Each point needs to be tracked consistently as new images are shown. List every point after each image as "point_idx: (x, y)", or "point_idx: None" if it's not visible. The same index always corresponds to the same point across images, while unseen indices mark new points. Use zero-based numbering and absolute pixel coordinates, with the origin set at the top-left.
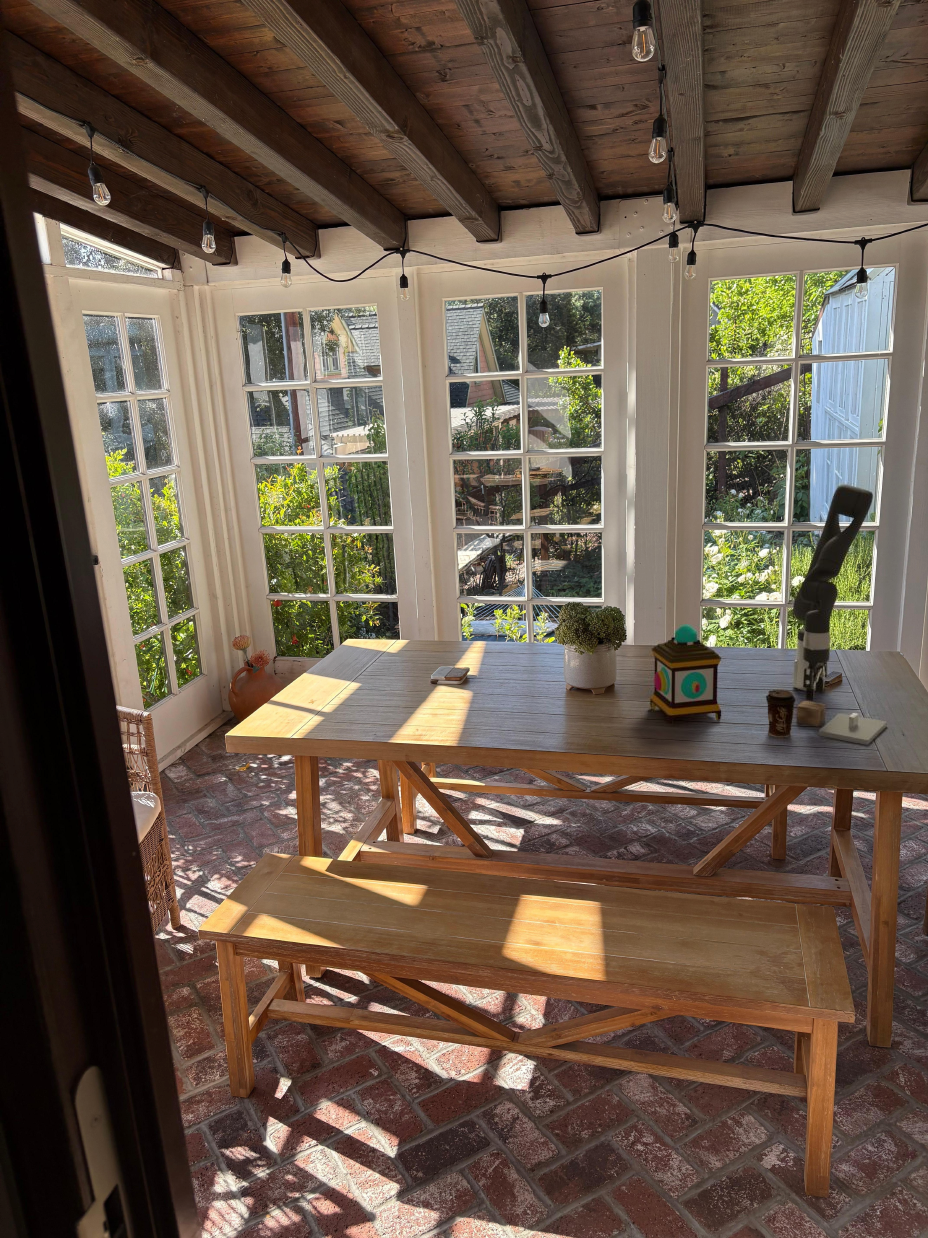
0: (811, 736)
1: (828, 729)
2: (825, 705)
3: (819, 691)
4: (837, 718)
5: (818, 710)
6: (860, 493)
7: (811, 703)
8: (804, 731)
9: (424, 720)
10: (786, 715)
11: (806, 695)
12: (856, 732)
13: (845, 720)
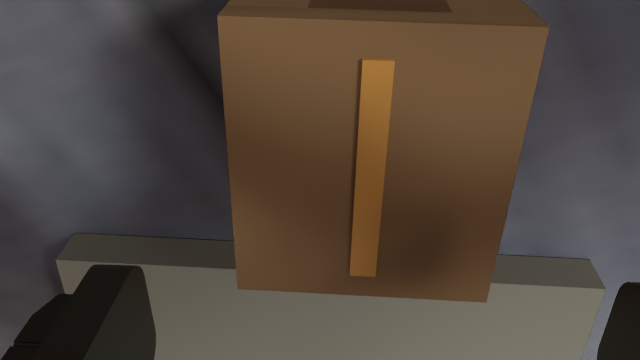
0: (13, 196)
1: None
2: (478, 293)
3: (618, 343)
4: (443, 306)
5: (239, 281)
6: None
7: (442, 161)
8: (75, 116)
9: None
10: None
11: (67, 315)
12: None
13: (422, 358)
